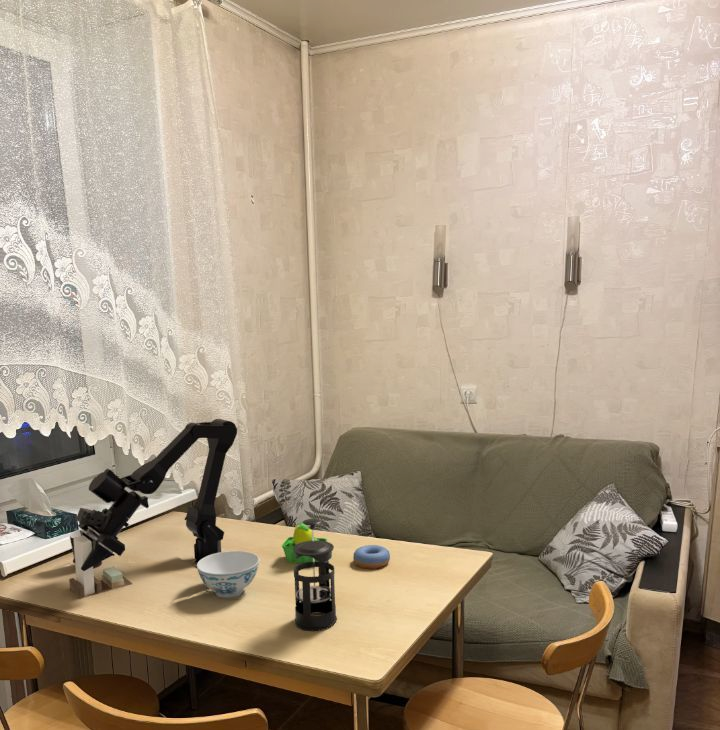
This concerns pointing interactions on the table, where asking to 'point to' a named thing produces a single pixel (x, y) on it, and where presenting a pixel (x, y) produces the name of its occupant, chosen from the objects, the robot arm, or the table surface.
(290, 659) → the table surface
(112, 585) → the offcut lower
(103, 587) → the rack
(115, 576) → the offcut upper
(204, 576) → the chinaware
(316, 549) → the french press
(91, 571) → the white rectangular block
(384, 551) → the doughnut
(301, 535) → the fruit basket
